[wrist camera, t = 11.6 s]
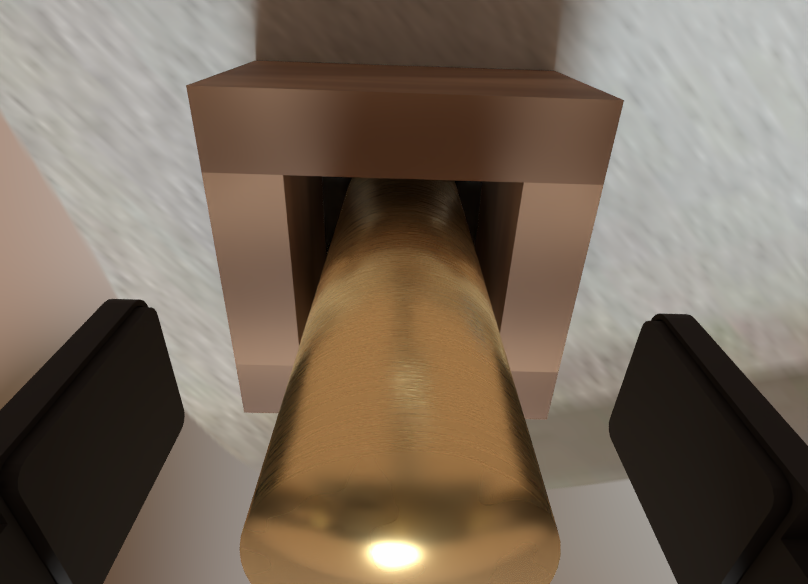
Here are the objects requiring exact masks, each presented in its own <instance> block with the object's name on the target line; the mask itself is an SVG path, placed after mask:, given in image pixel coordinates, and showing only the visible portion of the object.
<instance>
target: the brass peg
mask: <svg viewBox="0 0 808 584" xmlns="http://www.w3.org/2000/svg"><path fill="white" fill-rule="evenodd" d="M240 556H241V563H242V566H243V569H244V572H245V574H246V576H247V578H248V579H249V581H250V583H251V584H550V582H551V581H552V579H553V577H554V575H555V572H556V570H557V568H558V564H559V559H560V539H559V534H558V530H557V527H556V523H555V520H554V516H553V513H552V510H551V506H550V503H549V500H548V496H547V492H546V489H545V486H544V482H543V479H542V475H541V472H540V469H539V465H538V462H537V458H536V455H535V452H534V448H533V445H532V441H531V438H530V435H529V431H528V428H527V424H526V421H525V418H524V414H523V411H522V407H521V404H520V401H519V397H518V394H517V390H516V387H515V384H514V380H513V377H512V373H511V370H510V367H509V363H508V360H507V356H506V353H505V350H504V346H503V343H502V339H501V336H500V333H499V329H498V326H497V322H496V319H495V316H494V312H493V309H492V305H491V302H490V299H489V295H488V292H487V288H486V285H485V282H484V278H483V275H482V271H481V268H480V265H479V261H478V258H477V254H476V251H475V248H474V244H473V241H472V237H471V234H470V231H469V227H468V224H467V220H466V217H465V214H464V210H463V207H462V203H461V200H460V196H459V193H458V190H457V187H456V184H455V182H454V180H427V179H395V178H362V177H353V178H352V179H351V182H350V184H349V186H348V189H347V192H346V196H345V199H344V202H343V205H342V209H341V212H340V215H339V218H338V222H337V225H336V228H335V231H334V235H333V238H332V241H331V244H330V248H329V251H328V254H327V257H326V261H325V264H324V267H323V270H322V274H321V277H320V280H319V284H318V287H317V290H316V293H315V297H314V300H313V303H312V306H311V310H310V313H309V316H308V319H307V323H306V326H305V329H304V332H303V336H302V339H301V342H300V345H299V349H298V352H297V355H296V358H295V362H294V365H293V368H292V371H291V375H290V378H289V381H288V384H287V388H286V391H285V394H284V397H283V401H282V404H281V407H280V410H279V414H278V417H277V420H276V424H275V427H274V430H273V433H272V437H271V440H270V443H269V446H268V450H267V453H266V456H265V459H264V463H263V466H262V469H261V472H260V476H259V479H258V482H257V485H256V489H255V492H254V495H253V498H252V502H251V505H250V508H249V511H248V515H247V518H246V521H245V524H244V528H243V531H242V534H241V541H240Z"/></svg>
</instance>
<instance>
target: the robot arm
mask: <svg viewBox="0 0 808 584" xmlns="http://www.w3.org/2000/svg"><path fill="white" fill-rule="evenodd" d="M183 423H184V408H183V404H182V401H181V397H180V394H179V390H178V386H177V383H176V379H175V376H174V372H173V369H172V365H171V361H170V358H169V354H168V351H167V347H166V343H165V340H164V336H163V333H162V329H161V325H160V322H159V318H158V315H157V312H156V311H155V309H154V308H148V306H147V304H146V303H145V302H144V301H143V300H131V299H109V300H107V301H106V302H104V304H102V306H100V307H99V309H98V310H97V311H96V312H95V313H94V314H93V315H92V316H91V317H90V318H89V319H88V320H87V321H86V322H85V323H84V324H83V325H82V326H81V327H80V328H79V329H78V330H77V331H76V332H75V334H73V335H72V337H71V338H70V339H69V340H68V341H67V342H66V343H65V344H64V345H63V346H62V347H61V348H60V349H59V350H58V351H57V352H56V353H55V354H54V355H53V356H52V357H51V358H50V359H49V360H48V361H47V362H46V363H45V364H44V366H43V367H42V368H41V369H40V370H39V371H38V372H37V373H36V374H35V375H34V376H33V377H32V378H31V379H30V380H29V381H28V382H27V383H26V384H25V385H24V386H23V387H22V388H21V389H20V390H19V391H18V392H17V393H16V395H14V397H13V398H12V399H11V400H10V401H9V402H8V403H7V404H6V405H5V406H4V407H3V408H2V409H1V410H0V584H103V583H104V581H105V579H106V576H107V575H108V573H109V571H110V569H111V567H112V565H113V563H114V561H115V559H116V557H117V555H118V553H119V551H120V549H121V547H122V545H123V543H124V541H125V539H126V537H127V535H128V533H129V532H130V530H131V528H132V526H133V523H134V522H135V520H136V518H137V516H138V514H139V512H140V510H141V508H142V506H143V504H144V502H145V500H146V498H147V496H148V494H149V492H150V490H151V488H152V486H153V484H154V482H155V480H156V478H157V477H158V475H159V472H160V470H161V469H162V467H163V465H164V463H165V461H166V459H167V457H168V455H169V453H170V451H171V449H172V447H173V445H174V443H175V441H176V439H177V437H178V435H179V433H180V431H181V429H182V427H183ZM609 433H610V437H611V440H612V442H613V444H614V447H615V449H616V451H617V453H618V455H619V457H620V460H621V462H622V464H623V466H624V468H625V470H626V473H627V475H628V477H629V479H630V481H631V483H632V485H633V488H634V490H635V492H636V494H637V496H638V499H639V501H640V503H641V505H642V507H643V509H644V511H645V514H646V516H647V518H648V520H649V522H650V525H651V527H652V529H653V531H654V533H655V535H656V538H657V540H658V542H659V544H660V546H661V548H662V551H663V552H664V555H665V557H666V559H667V561H668V564H669V566H670V568H671V570H672V572H673V574H674V576H675V579H676V581H677V583H678V584H808V446H807V445H806V443H805V442H804V441H803V440H802V439H801V438H800V437H799V436H798V434H797V433H796V432H795V431H794V430H793V429H792V428H791V427H790V425H789V424H788V423H787V422H786V421H785V420H784V419H783V417H782V416H781V415H780V414H779V413H778V412H777V411H776V410H775V408H774V407H773V406H772V405H771V404H770V403H769V402H768V401H767V399H766V398H765V397H764V396H763V395H762V394H761V393H760V392H759V390H758V389H757V388H756V387H755V386H754V385H753V384H752V383H751V381H750V380H749V379H748V378H747V377H746V376H745V375H744V374H743V372H742V371H741V370H740V369H739V368H738V367H737V366H736V365H735V363H734V362H733V361H732V360H731V359H730V358H729V357H728V356H727V354H726V353H725V352H724V351H723V350H722V349H721V348H720V347H719V345H718V344H717V343H716V342H715V341H714V340H713V339H712V338H711V336H710V335H709V334H708V333H707V332H706V331H705V330H704V329H703V327H702V326H701V325H700V324H699V323H698V322H697V321H696V319H695V318H693V317H692V316H691V315H687V314H657V315H655V316H654V317H653V318H652V320H651V321H646V322H645V323H644V324H643V326H642V328H641V331H640V334H639V337H638V340H637V343H636V345H635V348H634V351H633V354H632V357H631V360H630V363H629V366H628V368H627V371H626V374H625V377H624V380H623V383H622V386H621V389H620V391H619V394H618V397H617V400H616V403H615V406H614V409H613V411H612V414H611V417H610V421H609Z"/></svg>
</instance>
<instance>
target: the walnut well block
mask: <svg viewBox="0 0 808 584" xmlns="http://www.w3.org/2000/svg"><path fill="white" fill-rule="evenodd" d="M186 87H187V92H188V98H189V104H190V109H191V115H192V121H193V126H194V132H195V137H196V143H197V149H198V154H199V160H200V166H201V171H202V177H203V182H204V188H205V194H206V199H207V205H208V211H209V216H210V222H211V227H212V233H213V239H214V244H215V250H216V256H217V261H218V267H219V272H220V278H221V284H222V289H223V295H224V301H225V306H226V312H227V317H228V323H229V329H230V334H231V340H232V346H233V351H234V357H235V362H236V368H237V374H238V379H239V385H240V391H241V396H242V402H243V407H244V412H249V413H279V410H280V407H281V404H282V401H283V397H284V394H285V391H286V388H287V384H288V381H289V378H290V375H291V371H292V368H293V365H294V362H295V358H296V355H297V352H298V349H299V345H300V342H301V339H302V336H303V332H304V329H305V326H306V323H307V319H308V316H309V313H310V310H311V306H312V303H313V300H314V297H315V293H316V290H317V287H318V284H319V280H320V277H321V274H322V270H323V267H324V264H325V261H326V244H325V225H324V207H323V188H322V176H330V177H362V178H395V179H427V180H459V181H482V190H481V198H480V207H479V216H478V225H477V233H476V242H475V251H476V254H477V258H478V261H479V265H480V268H481V271H482V275H483V278H484V282H485V285H486V288H487V292H488V295H489V299H490V302H491V305H492V309H493V312H494V316H495V319H496V322H497V326H498V329H499V333H500V336H501V339H502V343H503V346H504V350H505V353H506V356H507V360H508V363H509V367H510V370H511V373H512V377H513V380H514V384H515V387H516V390H517V394H518V397H519V401H520V404H521V407H522V411H523V414H524V418H525V419H547V416H548V412H549V408H550V404H551V400H552V396H553V391H554V387H555V383H556V379H557V375H558V371H559V367H560V362H561V358H562V354H563V350H564V346H565V342H566V338H567V334H568V329H569V325H570V321H571V317H572V313H573V309H574V305H575V300H576V296H577V292H578V288H579V284H580V280H581V276H582V271H583V267H584V263H585V259H586V255H587V251H588V247H589V242H590V238H591V234H592V230H593V226H594V222H595V218H596V213H597V209H598V205H599V201H600V197H601V193H602V189H603V184H604V180H605V176H606V172H607V168H608V164H609V160H610V156H611V151H612V147H613V143H614V139H615V135H616V131H617V127H618V122H619V118H620V114H621V110H622V106H623V102H624V100H622V99H620V98H617V97H615V96H613V95H610V94H608V93H606V92H603V91H601V90H598V89H596V88H594V87H591V86H589V85H587V84H584V83H582V82H580V81H577V80H575V79H573V78H570V77H568V76H566V75H563V74H561V73H558V72H556V71H544V70H514V69H485V68H456V67H427V66H398V65H369V64H340V63H311V62H282V61H253V62H250V63H247V64H245V65H242V66H239V67H236V68H234V69H231V70H228V71H225V72H222V73H220V74H217V75H214V76H211V77H209V78H206V79H203V80H200V81H198V82H195V83H192V84H189V85H186Z"/></svg>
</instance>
